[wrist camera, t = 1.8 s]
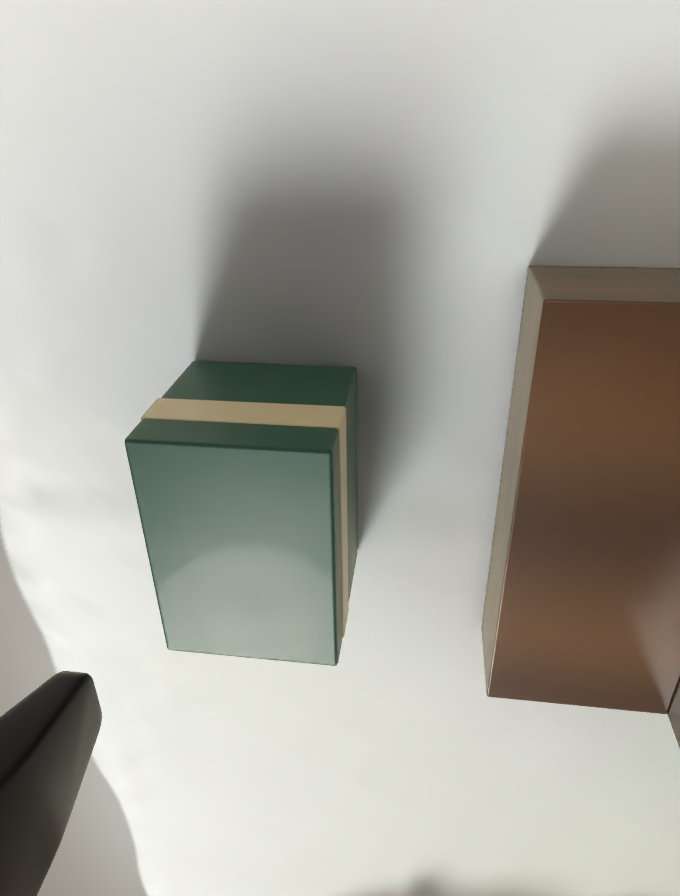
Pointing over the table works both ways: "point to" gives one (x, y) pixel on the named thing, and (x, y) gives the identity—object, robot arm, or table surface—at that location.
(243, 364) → the tea packet
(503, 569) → the step shelf
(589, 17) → the table surface
